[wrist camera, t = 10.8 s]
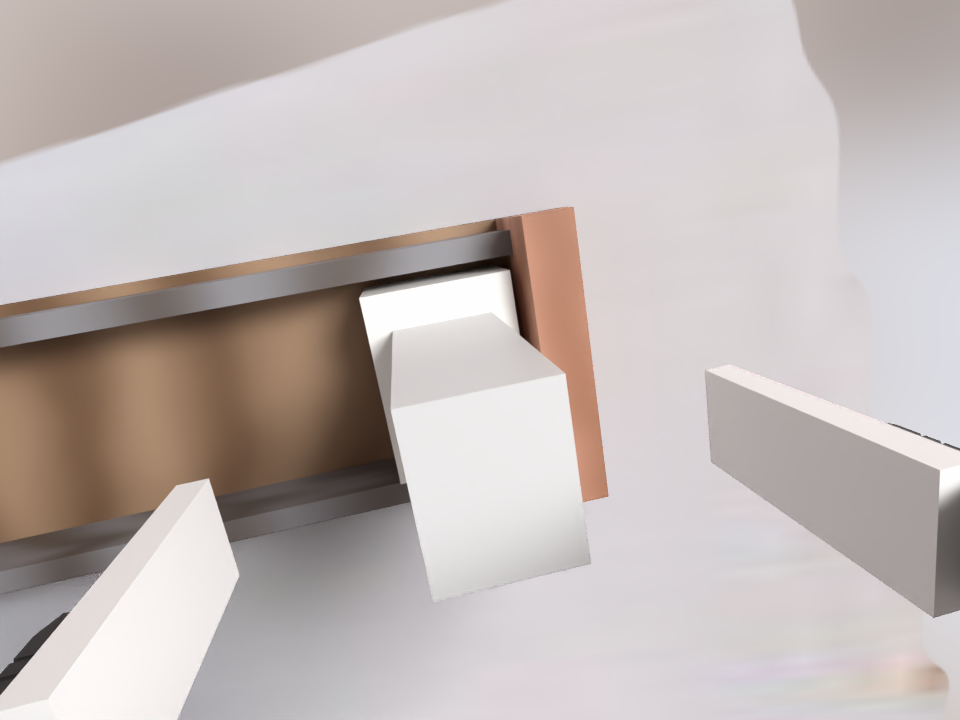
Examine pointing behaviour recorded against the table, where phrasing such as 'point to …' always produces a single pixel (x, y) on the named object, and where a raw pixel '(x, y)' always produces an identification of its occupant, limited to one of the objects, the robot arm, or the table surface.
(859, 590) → the table surface
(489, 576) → the block
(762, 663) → the table surface
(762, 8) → the table surface
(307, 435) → the track
